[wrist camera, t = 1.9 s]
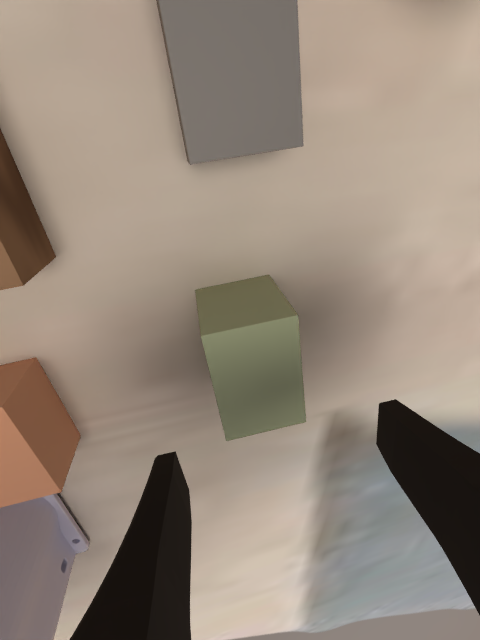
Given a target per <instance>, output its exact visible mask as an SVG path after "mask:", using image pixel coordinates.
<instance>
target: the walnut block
mask: <svg viewBox="0 0 480 640" xmlns="http://www.w3.org/2000/svg"><path fill="white" fill-rule="evenodd" d="M55 257H56V255H55V253H54V251H53V249H52V246H51V244H50V242H49V239H48V237H47V235H46V233H45V230H44V228H43V226H42V223H41V221H40V219H39V216H38V214H37V212H36V210H35V207H34V205H33V203H32V200H31V198H30V196H29V193H28V191H27V189H26V187H25V184H24V182H23V180H22V177H21V175H20V173H19V170H18V168H17V166H16V164H15V161H14V159H13V157H12V154H11V152H10V150H9V148H8V145H7V143H6V141H5V138H4V136H3V134H2V131H1V129H0V290H3V289H8V288H13V287H18V286H23V285H25V284H26V283H27V282H28V281H29V280H30V279H31V278H33V277H34V276H35V275H36V274H37V273H38V272H39V271H41V270H42V269H43V268H44V267H45V266H46V265H47V264H49V263H50V262H51V261H52V260H53V259H54V258H55Z"/></svg>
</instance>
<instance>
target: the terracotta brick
mask: <svg viewBox="0 0 480 640" xmlns="http://www.w3.org/2000/svg"><path fill="white" fill-rule="evenodd" d="M80 436H81V435H80V433H79V432H78V430H77V428H76V426H75V425H74V423H73V421H72V419H71V418H70V416H69V414H68V412H67V411H66V409H65V407H64V405H63V404H62V402H61V400H60V398H59V397H58V395H57V393H56V391H55V390H54V388H53V386H52V384H51V383H50V381H49V379H48V377H47V376H46V374H45V372H44V370H43V369H42V367H41V365H40V363H39V362H38V360H37V358H36V357H35V358H31V359H26V360H22V361H18V362H13V363H9V364H5V365H0V508H1V507H5V506H9V505H13V504H17V503H21V502H25V501H29V500H32V499H36V498H40V497H44V496H48V495H52V494H56V493H60V492H62V489H63V486H64V483H65V480H66V477H67V474H68V471H69V468H70V465H71V462H72V460H73V457H74V454H75V451H76V448H77V445H78V442H79V439H80Z"/></svg>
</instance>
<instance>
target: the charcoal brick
mask: <svg viewBox="0 0 480 640" xmlns="http://www.w3.org/2000/svg"><path fill="white" fill-rule="evenodd" d="M156 1H157V6H158V11H159V16H160V21H161V26H162V32H163V37H164V42H165V47H166V52H167V57H168V63H169V68H170V73H171V78H172V83H173V88H174V94H175V99H176V104H177V109H178V114H179V119H180V125H181V130H182V135H183V140H184V145H185V150H186V156H187V161H188V162H189V164H190V165H191V164H197V163H203V162H209V161H215V160H222V159H228V158H234V157H240V156H246V155H253V154H259V153H265V152H271V151H277V150H283V149H290V148H296V147H302V146H303V124H302V100H301V77H300V53H299V29H298V5H297V0H156Z"/></svg>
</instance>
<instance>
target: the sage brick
mask: <svg viewBox="0 0 480 640" xmlns="http://www.w3.org/2000/svg"><path fill="white" fill-rule="evenodd" d="M195 292H196V301H197V309H198V317H199V326H200V334H201V339H202V343H203V347H204V351H205V356H206V360H207V364H208V368H209V372H210V376H211V380H212V384H213V388H214V392H215V397H216V401H217V405H218V409H219V413H220V417H221V421H222V425H223V429H224V433H225V438H226V441H229V440H233V439H237V438H242V437H246V436H250V435H254V434H258V433H262V432H266V431H271V430H275V429H279V428H283V427H287V426H291V425H295V424H300V423H304V422H306V414H305V401H304V388H303V375H302V362H301V348H300V335H299V322H298V314H297V313H296V312H295V310H294V309H293V308H292V306H291V305H290V303H289V302H288V301H287V299H286V298H285V296H284V295H283V294H282V292H281V291H280V290H279V288H278V287H277V285H276V284H275V283H274V281H273V280H272V278H271V277H270V276H269V275H265V276H260V277H255V278H250V279H246V280H241V281H236V282H231V283H226V284H221V285H216V286H211V287H206V288H202V289H197V290H195Z"/></svg>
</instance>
